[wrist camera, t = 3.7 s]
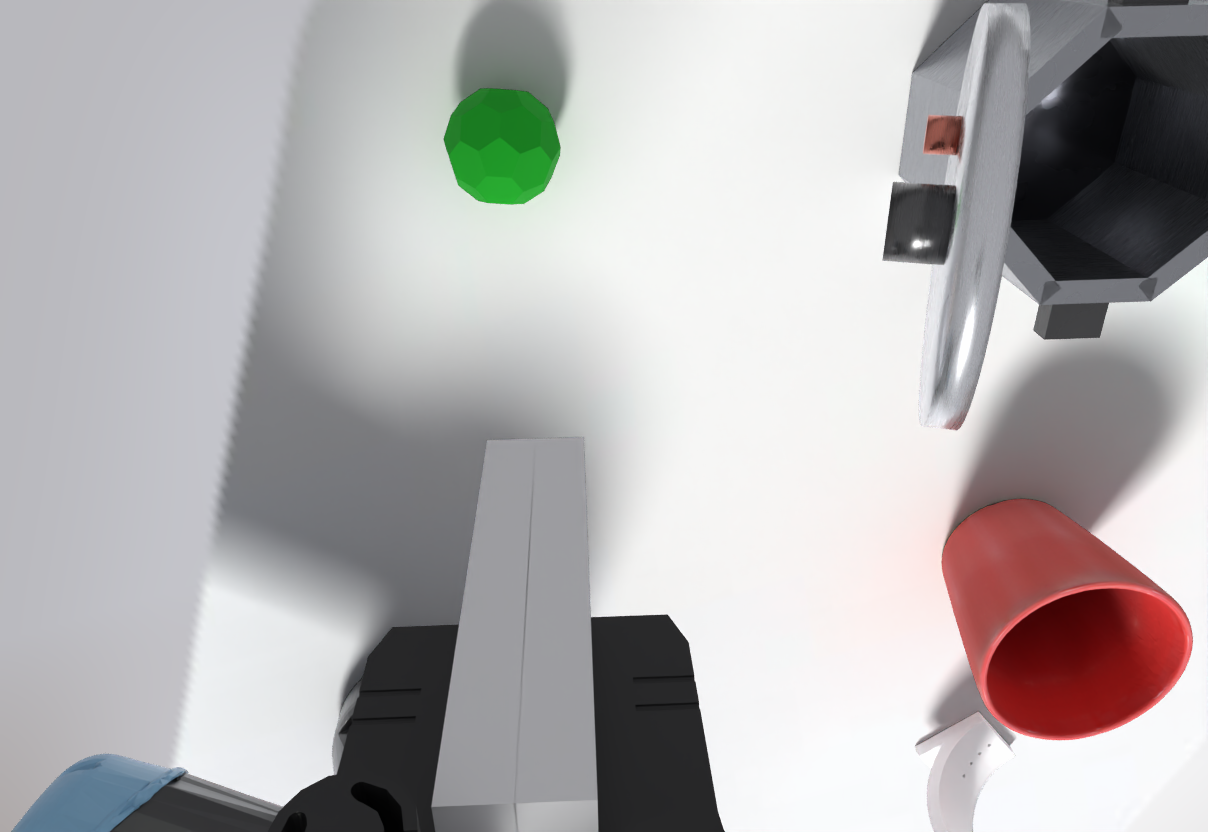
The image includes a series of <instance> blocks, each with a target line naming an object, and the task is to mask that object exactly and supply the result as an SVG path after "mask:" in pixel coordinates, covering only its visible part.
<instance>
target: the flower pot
mask: <svg viewBox="0 0 1208 832" xmlns="http://www.w3.org/2000/svg"><path fill="white" fill-rule="evenodd" d="M942 571H943V576H944V580H945V583H946V586H947V590H948V594H949V597H950V601H951V604H952V608H953V612H954V615H955V618H956V622H957V625H958V628H959V631H960V635H961V638H962V641H963V645H964V648H965V651H966V654H967V658H968V661H969V664H970V667H971V670H972V673H973V676H974V679H975V682H976V685H977V688H978V690H979V693H980V695H981V698H982V700H983V702H984V704H985V706H986V707H987V709H988V710H989V711H990V713H991V714H992V715H993V716H994V717H995V718H996V719H997V720H998V721H999V722H1001V723H1002V724H1003V725H1005V726H1006V727H1008V728H1009V729H1011V730H1013V731H1015V732H1018V733H1020V734H1023V735H1026V736H1030V737H1035V738H1040V739H1047V740H1073V739H1080V738H1085V737H1090V736H1094V735H1097V734H1100V733H1104V732H1107V731H1110V730H1113V729H1115V728H1118V727H1120V726H1122V725H1124V724H1126V723H1128V722H1130V721H1132V720H1133V719H1135V718H1137V717H1138V716H1140V715H1142V714H1143V713H1145V712H1146V711H1148V710H1149V709H1151V708H1152V707H1153V706H1154V705H1156V704H1157V703H1158V702H1159V701H1160V700H1161V699H1162V698H1164V697H1165V695H1166V694H1167V693H1168V692H1169V691H1170V690H1171V689H1172V688H1173V687H1174V685H1175V684H1176V683H1177V681H1178V680H1179V678H1180V677H1181V675H1182V673H1183V672H1184V670H1185V668H1186V666H1187V663H1188V661H1189V658H1190V655H1191V651H1192V644H1193V637H1192V630H1191V625H1190V622H1189V620H1188V618H1187V615H1186V613H1185V612H1184V610H1183V609H1182V607H1181V606H1180V605H1179V604H1178V603H1177V602H1176V601H1175V600H1174V599H1173V598H1172V597H1171V596H1170V595H1169V594H1168V593H1166V592H1165V591H1164V590H1163V589H1162V588H1161V587H1159V586H1158V585H1157V584H1156V583H1154V582H1153V581H1152V580H1151V579H1150V578H1148V577H1147V576H1146V575H1145V574H1143V573H1142V572H1141V571H1139V570H1138V569H1137V568H1136V567H1134V566H1133V565H1132V564H1130V563H1129V562H1128V561H1127V560H1125V559H1124V558H1123V557H1121V556H1120V555H1119V554H1117V553H1116V552H1115V551H1114V550H1112V549H1111V548H1110V547H1108V546H1107V545H1106V544H1104V543H1103V542H1102V541H1101V540H1099V539H1098V538H1096V537H1095V536H1094V535H1092V534H1091V533H1090V532H1088V531H1087V530H1085V529H1084V528H1083V527H1081V526H1080V525H1078V524H1077V523H1076V522H1074V521H1073V520H1071V519H1070V518H1068V517H1067V516H1066V515H1064V514H1063V513H1061V512H1060V511H1059V510H1057V509H1056V508H1054V507H1053V506H1051V505H1049V504H1047V503H1044V502H1041V501H1037V500H1031V499H1013V500H1006V501H1002V502H999V503H997V504H993V505H990V506H986V507H984V508H982V509H980V510H978V511H977V512H975V513H973V514H972V515H970V516H969V517H967V518H966V519H965V520H964V521H963V522H962V523H961V524H960V525H959V526H958V527H957V528H956V529H955V530H954V531H953V533H952V534H951V536H950V537H949V539H948V541H947V543H946V545H945V548H944V551H943V555H942Z"/></svg>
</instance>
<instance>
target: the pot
mask: <svg viewBox="0 0 1208 832" xmlns="http://www.w3.org/2000/svg"><path fill="white" fill-rule="evenodd" d="M986 3H1026V5H1027V7H1028V10H1029V16H1030V66H1029V81H1028V94H1027V105H1026V114H1025V124H1024V133H1023V141H1022V149H1021V158H1020V165H1019V172H1018V180H1017V187H1016V194H1015V201H1014V207H1013V213H1012V219H1011V226H1010V232H1009V238H1008V244H1007V249H1006V255H1005V261H1004V267H1003V272H1002V276H1003V277H1004V278H1006V279H1007V280H1008V281H1010V282H1011V283H1012V284H1013V285H1015V286H1016V287H1017V288H1019V289H1020V290H1021V291H1023V292H1024V293H1025V294H1026V295H1028V296H1029V297H1030V298H1032V299H1033V300H1034V301H1035V302H1037V303H1038V304H1039V308H1038V312H1037V316H1036V321H1035V325H1034V331H1035V332H1036V333H1037V334H1038V335H1039V336H1041V337H1042V338H1043V339H1044V340H1045V339H1073V338H1100V335H1101V331H1102V327H1103V323H1104V319H1105V316H1106V312H1107V308H1108V304H1109V303H1110V302H1139V301H1150V302H1151V301H1152V300H1153V299H1154V298H1156V297H1157V296H1158V295H1160V294H1161V293H1162V292H1163V291H1165V290H1166V289H1167V288H1169V287H1170V286H1171V285H1172V284H1174V283H1175V282H1176V281H1178V280H1179V279H1180V278H1181V277H1183V276H1184V275H1185V274H1187V273H1188V272H1189V271H1190V270H1192V269H1193V268H1194V267H1196V266H1197V265H1198V264H1199V263H1201V262H1202V261H1203V260H1205V259H1206V258H1207V257H1208V0H988V1H987V2H986ZM981 8H982V7H980V8H979V9H978V10H977V11H976V12H975V13H974V14H973V15H972V16H971V17H970V18H969V19H968V20H967V21H966V22H965V23H964V24H963V25H962V26H961V27H960V28H959V29H958V30H957V31H956V32H954V33H953V34H952V35H951V36H950V37H949V38H948V39H947V40H946V41H945V42H944V43H943V44H942V45H941V46H940V47H939V48H938V49H937V50H936V51H935V52H934V53H933V54H932V55H931V56H929V57H928V58H927V59H926V60H925V61H924V62H923V63H922V64H921V65H920V66H919V67H918V68H917V69H916V70H915V71H914V72H913V73H912V81H911V89H910V96H909V103H908V111H907V118H906V125H905V133H904V140H903V147H902V155H901V162H900V169H899V176H900V177H901V178H902V179H903V180H904V181H905V183H922V184H941V185H944V183H945V177H946V171H947V165H948V159H949V155H936V154H923V146H924V138H925V131H926V125H927V119H928V115H948V116H956V113H957V108H958V103H959V98H960V92H961V87H962V82H963V77H964V72H965V68H966V63H967V59H968V54H969V50H970V45H971V41H972V37H973V33H974V29H975V26H976V22H977V19H978V16H979V13H980V10H981Z"/></svg>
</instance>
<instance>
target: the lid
mask: <svg viewBox="0 0 1208 832" xmlns="http://www.w3.org/2000/svg"><path fill="white" fill-rule="evenodd" d="M1029 66H1030V16H1029V10H1028V7H1027V5H1026V3H984V4H983V6H982V8H981V10H980V13H979V16H978V19H977V22H976V26H975V29H974V33H973V37H972V41H971V45H970V50H969V54H968V59H967V63H966V68H965V72H964V77H963V82H962V87H961V92H960V98H959V103H958V108H957V113H956V116H948V115H928V119H927V125H926V131H925V138H924V146H923V154H936V155H949V159H948V165H947V171H946V177H945V183H944V185H941V184H922V183H903V182H893V186H892V194H891V201H890V209H889V216H888V224H887V231H886V239H885V246H884V254H883V261H896V262H909V263H922V264H933V265H932V273H931V281H930V288H929V297H928V305H927V313H926V322H925V331H924V341H923V351H922V362H921V375H920V390H919V420H920V425H921V426H926V427H935V428H943V429H951V430H958V429H959V428H960V427H961V425H962V424H963V422H964V420H965V418H966V416H967V413H968V411H969V408H970V405H971V402H972V399H973V396H974V393H975V390H976V386H977V383H978V379H979V376H980V372H981V368H982V364H983V360H984V356H985V352H986V348H987V344H988V339H989V335H990V331H991V326H992V322H993V317H994V312H995V307H996V303H997V298H998V293H999V287H1000V282H1001V277H1002V272H1003V267H1004V261H1005V255H1006V249H1007V244H1008V238H1009V232H1010V226H1011V219H1012V213H1013V207H1014V201H1015V194H1016V187H1017V180H1018V172H1019V165H1020V158H1021V149H1022V141H1023V133H1024V124H1025V114H1026V105H1027V94H1028V81H1029Z"/></svg>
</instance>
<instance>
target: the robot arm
mask: <svg viewBox="0 0 1208 832" xmlns="http://www.w3.org/2000/svg"><path fill="white" fill-rule="evenodd" d="M332 759H333V769H334V775H332V776H328V777H326V778H324V779H322V780H320V781H318V782H316V783H314V784H312V785H310V786H309V787H307V788H305V789H303V790H301V791H300V792H299V793H298V794H297V795H296V796H295V797H293V798H292V799H291V800H290V801H289V802H288V803H287V804H286V805H285V806H284V807H283V806H280V805H276V804H273V803H270V802H267V801H264V800H261V799H258V798H255V797H252V796H249V795H246V794H243V793H240V792H238V791H235V790H232V789H229V788H226V787H223V786H221V785H218V784H215V783H212V782H209V781H206V780H204V779H201V778H198V777H195V776H192V775H189V774H188V771H187V770H185V769H183V768H179V767H177V768H173V769H169V768H165V767H161V766H157V765H153V764H149V763H145V762H141V761H137V760H134V759H131V758H127V757H123V756H120V755H114V754H100V755H94V756H91V757H87V758H85V759H83V760H80V761H78V762H77V763H75V764H74V765H72V766H70V767H69V768H68V769H66V771H64V772H63V773H62V774H61V775H60V776H59V777H58V778H57V779H56V780H55V781H54V782H53V783H52V784H51V785H50V786H49V787H48V788H47V789H46V790H45V791H44V792H43V794H42V795H41V796H40V797H39V798H38V799H37V800H36V802H35V803H34V804H33V805H32V806H31V808H30V809H29V810H28V811H27V813H26V814H25V815H24V816H23V818H22V819H21V820H20V821H19V823H18V824H17V825H16V826H15V828H14V829H13V830H12V831H11V832H725V831H724V829H723V826H722V823H721V820H720V817H719V814H718V810H717V804H716V798H715V793H714V787H713V781H712V775H711V769H710V764H709V758H708V752H707V746H706V741H705V735H704V729H703V723H702V717H701V712H700V709H699V700H698V694H697V689H696V683H695V681H694V671H693V666H692V660H691V654H690V648H689V642H688V641H687V640H686V638H685V637H684V636H683V634H682V633H681V632H680V630H679V629H678V628H677V626H676V625H675V624H674V623H673V621H672V620H671V619H670V617H669V616H668V615H643V616H616V617H591V611H590V585H589V558H588V532H587V505H586V478H585V452H584V437H567V438H535V439H504V440H487V444H486V450H485V457H484V464H483V470H482V477H481V483H480V490H479V497H478V503H477V510H476V516H475V523H474V529H473V536H472V543H471V549H470V556H469V562H468V569H467V576H466V582H465V589H464V595H463V602H462V608H461V615H460V622H459V625H441V626H414V627H392V628H391V630H390V631H389V632H388V633H387V635H386V636H385V637H384V638H383V640H382V641H381V642H380V643H379V644H378V646H377V647H376V648H375V649H374V651H373V652H372V653H371V654H370V655H369V657H368V660H367V664H366V667H365V671H364V675H363V678H362V679H361V680H360V681H359V682H358V683H357V684H356V685H355V686H354V688H353V689H352V690H351V692H350V693H349V695H348V696H347V698H346V700H345V702H344V704H343V707H342V710H341V713H340V717H339V720H338V724H337V727H336V731H335V735H334V740H333V748H332Z"/></svg>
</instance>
